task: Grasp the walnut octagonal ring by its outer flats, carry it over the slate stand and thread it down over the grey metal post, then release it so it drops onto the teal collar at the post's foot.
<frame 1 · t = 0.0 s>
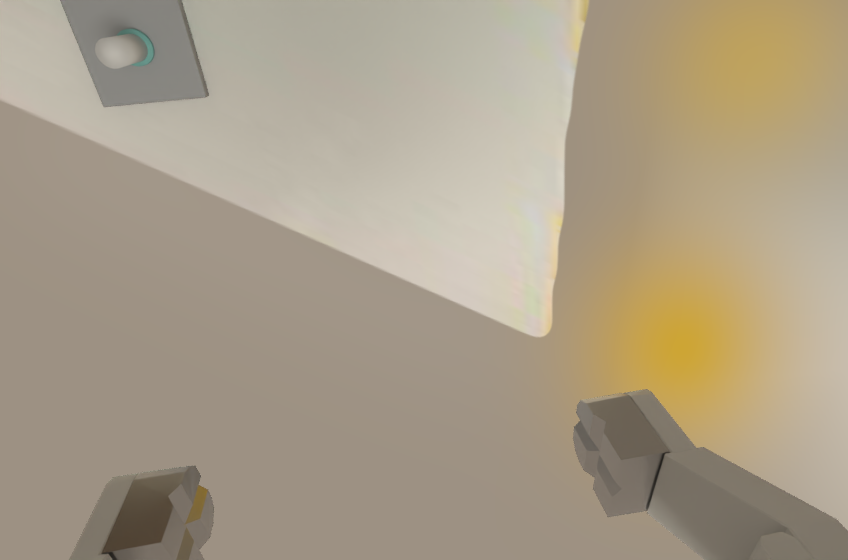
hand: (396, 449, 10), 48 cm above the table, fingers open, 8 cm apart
shaft stand: (140, 46, 46), on the table
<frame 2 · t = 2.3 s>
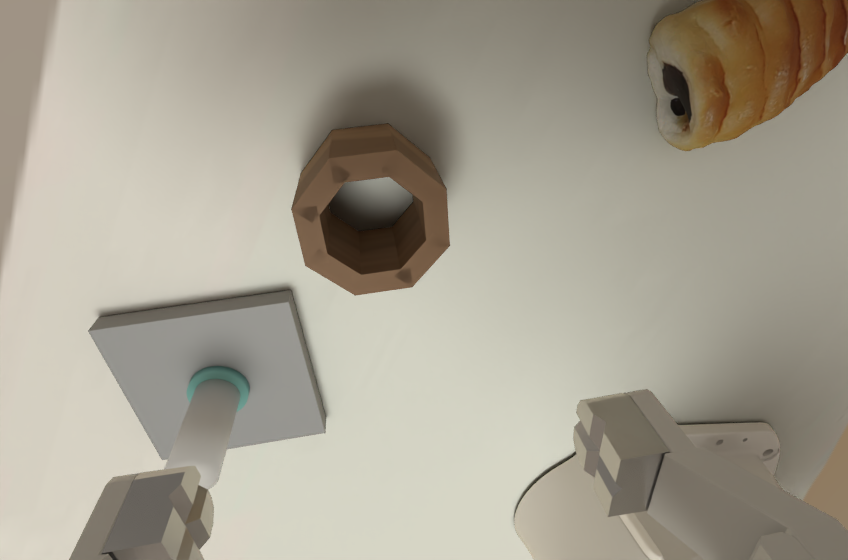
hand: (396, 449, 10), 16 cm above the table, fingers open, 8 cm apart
ring: (369, 190, 23), on the table
pastry: (719, 52, 23), on the table
shaft stand: (224, 373, 28), on the table
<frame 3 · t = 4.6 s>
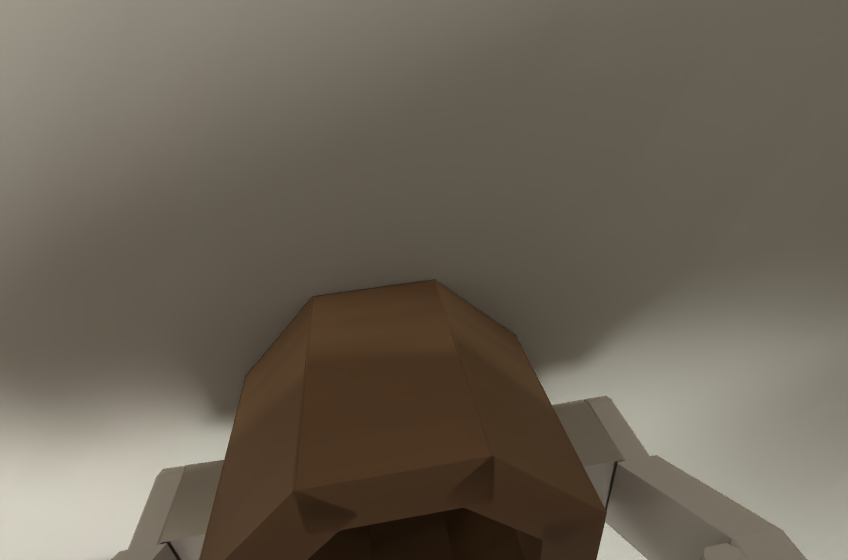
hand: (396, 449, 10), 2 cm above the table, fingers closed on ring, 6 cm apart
ring: (390, 395, 11), on the table, touching gripper
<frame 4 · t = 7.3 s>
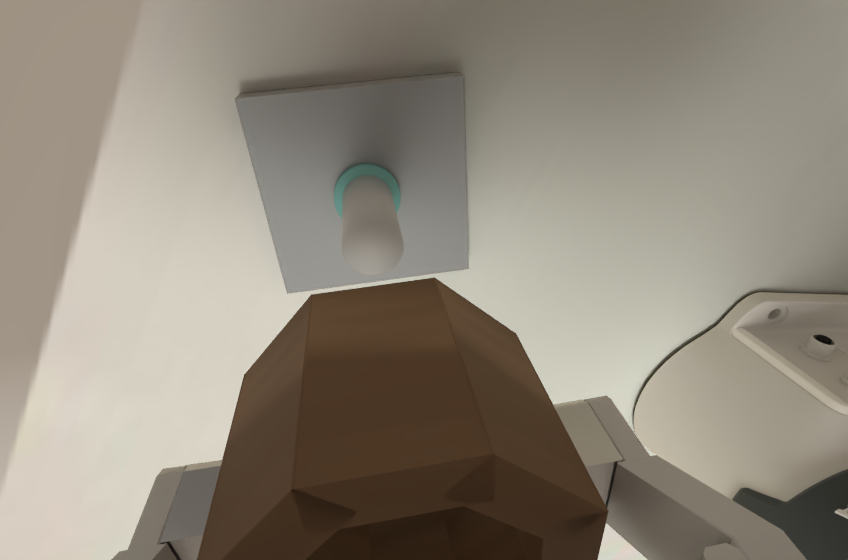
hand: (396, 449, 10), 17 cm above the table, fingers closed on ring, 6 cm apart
ring: (389, 394, 11), point 15 cm above the table, touching gripper
shaft stand: (366, 186, 24), on the table
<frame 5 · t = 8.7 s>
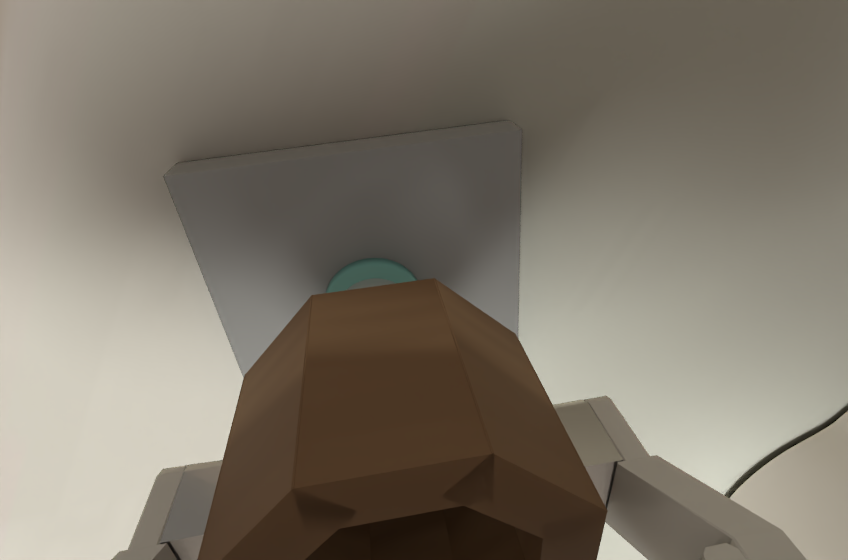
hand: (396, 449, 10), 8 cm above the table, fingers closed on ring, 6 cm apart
ring: (389, 394, 11), point 6 cm above the table, touching gripper
shaft stand: (372, 281, 17), on the table
when the fingers open (6 cm above the table, at t = 10.0 s): ring drops 3 cm, resting on shaft stand.
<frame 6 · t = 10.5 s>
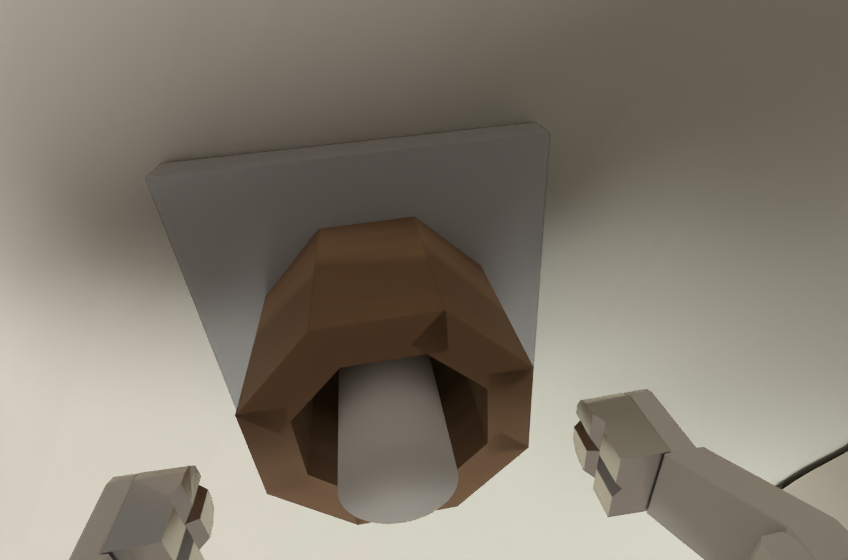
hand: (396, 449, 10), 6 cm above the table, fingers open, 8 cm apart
ring: (380, 316, 14), point 1 cm above the table, touching shaft stand
shaft stand: (376, 296, 15), on the table
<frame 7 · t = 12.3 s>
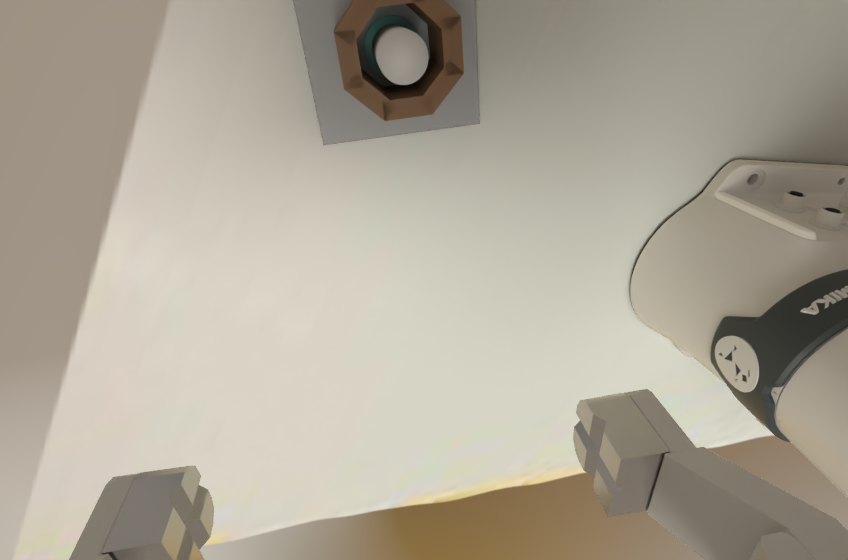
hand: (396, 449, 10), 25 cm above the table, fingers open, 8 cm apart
ring: (392, 45, 27), point 1 cm above the table, touching shaft stand
shaft stand: (390, 45, 28), on the table
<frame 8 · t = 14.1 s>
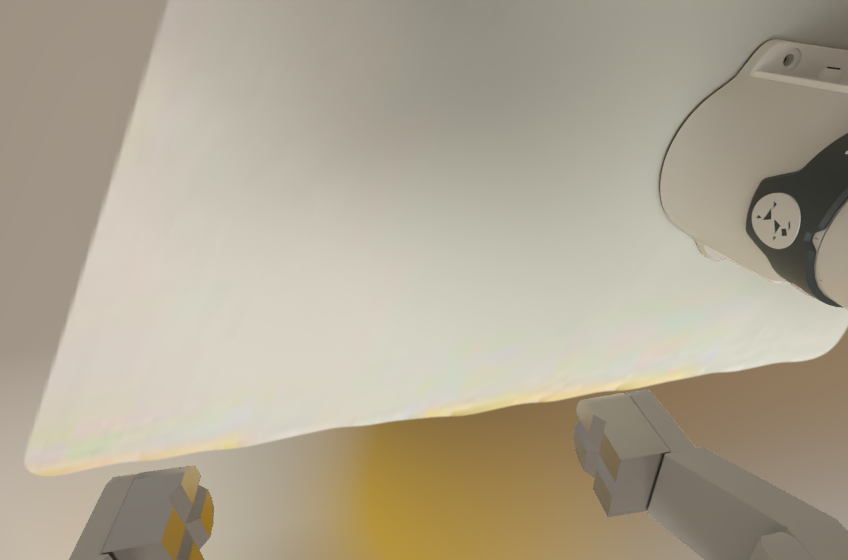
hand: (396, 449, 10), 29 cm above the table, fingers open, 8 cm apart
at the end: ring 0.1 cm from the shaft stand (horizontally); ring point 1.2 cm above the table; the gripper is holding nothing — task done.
